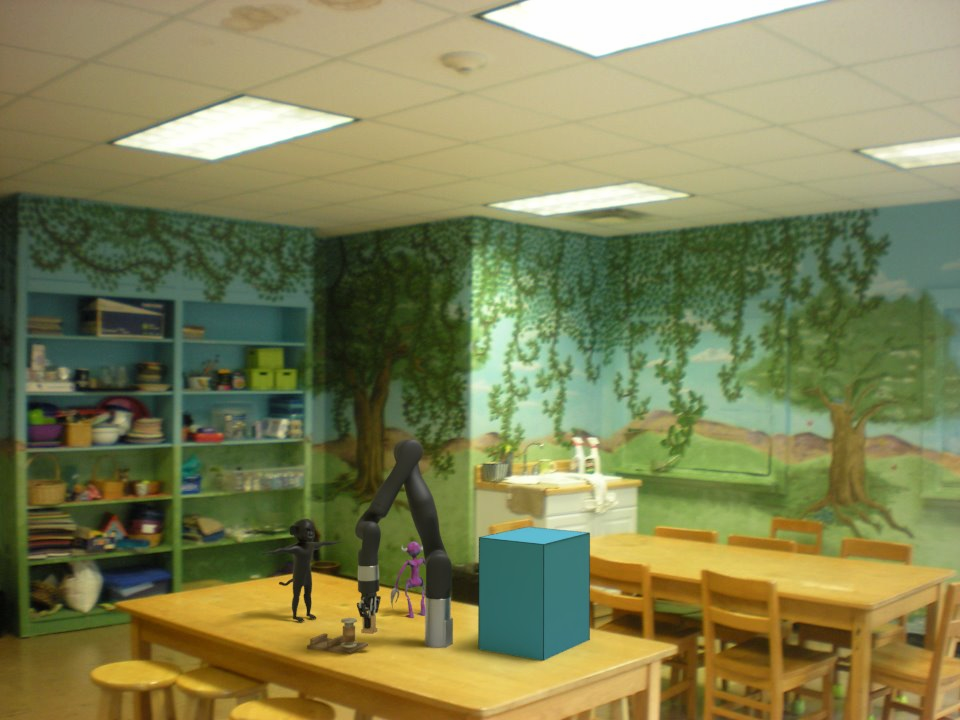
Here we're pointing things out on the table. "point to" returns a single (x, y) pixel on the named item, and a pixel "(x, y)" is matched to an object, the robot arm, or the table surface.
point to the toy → (415, 580)
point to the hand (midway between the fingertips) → (369, 627)
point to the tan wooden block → (372, 625)
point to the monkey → (302, 562)
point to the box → (534, 592)
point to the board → (339, 640)
